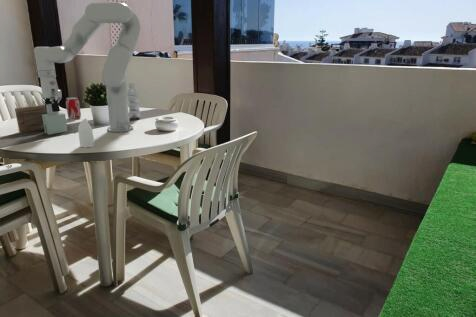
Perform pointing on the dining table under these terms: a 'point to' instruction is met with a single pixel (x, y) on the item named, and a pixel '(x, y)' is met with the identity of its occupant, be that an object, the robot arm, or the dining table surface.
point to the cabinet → (54, 121)
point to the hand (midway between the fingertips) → (52, 110)
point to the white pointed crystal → (85, 134)
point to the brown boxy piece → (30, 118)
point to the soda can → (73, 108)
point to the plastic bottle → (133, 102)
